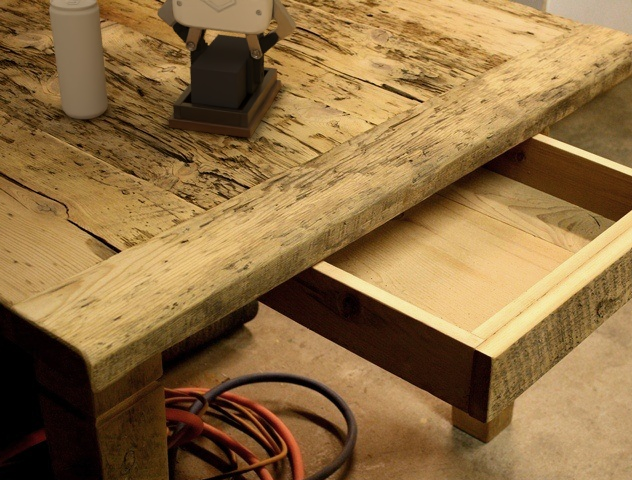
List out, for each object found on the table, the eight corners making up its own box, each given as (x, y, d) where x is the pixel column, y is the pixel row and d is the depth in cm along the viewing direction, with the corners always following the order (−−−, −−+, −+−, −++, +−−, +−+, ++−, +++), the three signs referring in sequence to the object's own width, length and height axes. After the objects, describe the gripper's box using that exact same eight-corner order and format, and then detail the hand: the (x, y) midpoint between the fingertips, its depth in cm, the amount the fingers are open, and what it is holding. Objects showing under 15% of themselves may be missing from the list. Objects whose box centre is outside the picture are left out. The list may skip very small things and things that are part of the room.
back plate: (250, 138, 96) (250, 116, 95) (168, 127, 97) (167, 105, 96) (281, 88, 107) (281, 67, 106) (207, 78, 108) (207, 58, 107)
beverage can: (112, 103, 101) (102, -7, 94) (103, 122, 97) (93, 9, 90) (67, 101, 101) (54, -9, 94) (57, 120, 97) (42, 7, 90)
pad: (237, 109, 96) (237, 72, 94) (191, 103, 97) (189, 67, 95) (261, 73, 105) (261, 39, 102) (218, 68, 105) (218, 34, 103)
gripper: (127, -89, 88) (140, 89, 99) (301, -70, 87) (296, 109, 97) (154, -106, 95) (164, 64, 105) (317, -89, 93) (311, 82, 103)
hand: (227, 84), depth 101 cm, fingers closed on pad, 5 cm apart
